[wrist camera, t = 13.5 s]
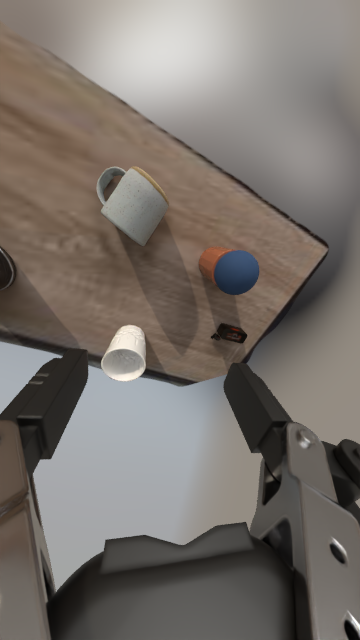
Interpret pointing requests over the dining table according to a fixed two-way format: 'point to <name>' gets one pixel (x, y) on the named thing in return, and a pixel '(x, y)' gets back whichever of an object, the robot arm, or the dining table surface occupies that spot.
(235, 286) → the ball
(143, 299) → the dining table surface
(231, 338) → the wireless earbuds
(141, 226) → the ceramic mug
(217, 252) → the cup
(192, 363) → the dining table surface
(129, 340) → the white cup
